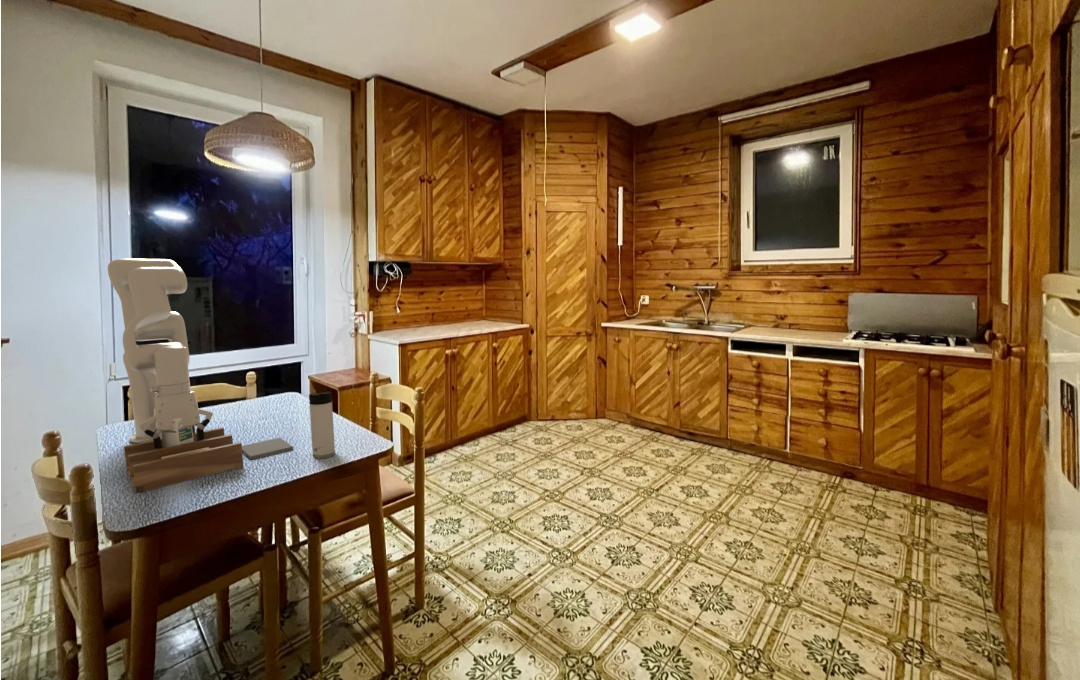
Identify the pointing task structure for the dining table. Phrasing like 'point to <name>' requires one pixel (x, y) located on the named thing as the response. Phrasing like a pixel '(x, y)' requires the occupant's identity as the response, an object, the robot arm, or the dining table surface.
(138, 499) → the dining table surface
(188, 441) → the syrup box
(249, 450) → the rubber mat
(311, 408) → the travel mug
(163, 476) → the walnut rack
